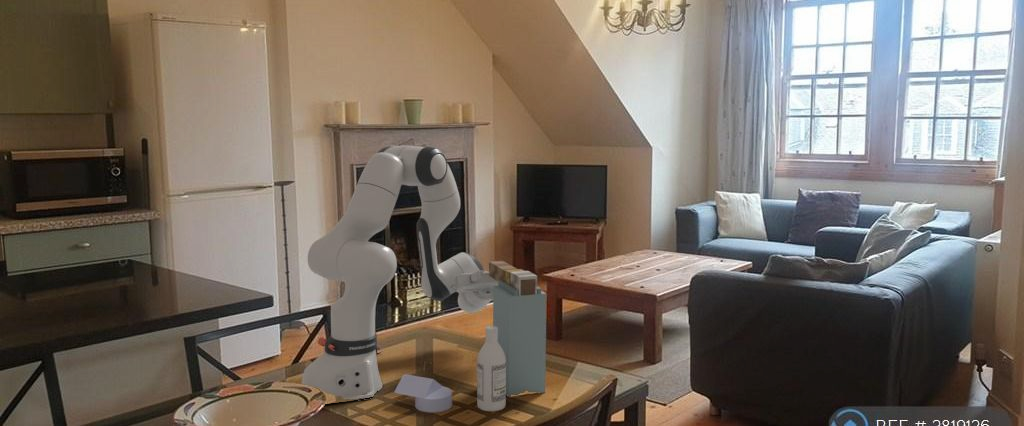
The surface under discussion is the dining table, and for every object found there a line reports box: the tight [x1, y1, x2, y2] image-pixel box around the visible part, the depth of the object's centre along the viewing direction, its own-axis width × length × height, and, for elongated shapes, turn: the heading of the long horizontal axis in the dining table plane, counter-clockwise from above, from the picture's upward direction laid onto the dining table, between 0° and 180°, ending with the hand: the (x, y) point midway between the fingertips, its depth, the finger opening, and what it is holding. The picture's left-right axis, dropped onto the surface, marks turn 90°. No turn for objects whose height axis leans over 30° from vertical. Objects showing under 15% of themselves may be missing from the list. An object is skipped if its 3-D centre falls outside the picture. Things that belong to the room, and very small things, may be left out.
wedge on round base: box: [393, 373, 453, 413], centre depth 193 cm, size 9×7×13 cm
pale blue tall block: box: [492, 280, 547, 397], centre depth 203 cm, size 12×10×27 cm
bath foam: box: [476, 325, 507, 413], centre depth 190 cm, size 7×7×20 cm
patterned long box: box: [488, 260, 538, 296], centre depth 207 cm, size 24×5×5 cm, turn 21°
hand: (497, 271), depth 216 cm, fingers open, 8 cm apart
